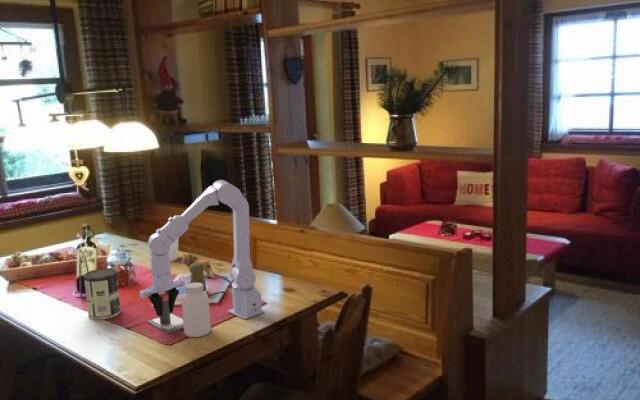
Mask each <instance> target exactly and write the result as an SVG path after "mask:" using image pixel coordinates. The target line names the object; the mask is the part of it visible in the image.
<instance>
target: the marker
mask: <svg viewBox="0 0 640 400" xmlns="http://www.w3.org/2000/svg"><path fill="white" fill-rule="evenodd" d="M159 295H160V296H161V297H163V298H162V316H161V317H160V324H161V325H167V324H170V323H171V319H170V307H169V293H168V292H162V293H159Z"/></svg>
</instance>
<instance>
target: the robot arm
mask: <svg viewBox="0 0 640 400" xmlns="http://www.w3.org/2000/svg"><path fill="white" fill-rule="evenodd" d="M219 202H220V203H222V204H224V205H227V206H228V207H229V208H230V209H232V225H233V226H232V228H233V258H232V260H231V261H232V264H231V267H230V269H229V276H230V278H231V279H232V281H233V282H232V284H231V291H232V293H231V295H232V296H231V297H232V308H230V309H228V310H227V312H228V313H230V314H232V315H235V316H237V317H239V318H241V319H244V320H247V319H249V318H252V317H255V316H257V315H259V314H263V313H265V310H263V307H262V304H263V303H262V294H261V292H260V291H259V290H258V289H257V288H256V287H255V283H256V274H255V273H254V269H253V263H252V261H251V256H250V255H251V254H250V253H251V251H250V250H251V249H250V248H251V247H250V244H251V243H250V205H249V202H248V201H247V199H246V198H245V197H244V195H243V193H242V192H241V190H240V189H239V188H238V187H236V186H235V185H233V184H231V183H229V182H228V181H227V180H225V179H219V180H216V181H215V182H213V183H212V185H209V186H208V187H207V188H206V189H205V190H204V191H203V192H202V194H201V195H200V196H199V197H197V198H196V199H195V200H194V201H193V203H192V204H191V205H189V207H188V208H186V210H185V211H184V212H182V214H180V215H178V214H177V215H174V216H170V217H169V218H168V219H167V220H168V221H167V223H165V224H164V225H163V226H162V227H161V228H158V229H156V230H157V232H158V233H156V232H154V233H153V234H151V235H150V236H149V238H148V240H147V245H148V247H149V249H150V254H149V256H150V259H149V260H150V271H151V279H152V281H151V282H152V285H151V286H149V287H147V288H145V289H142V290H140V291H139V292H138V293H139V298H140V299H142V300H143V299H144V300H145V299H146V298H147V299H149V301H150V303H151V305H152V307H153V308H154V310H155V313H156V316H157V317H161V316H162V298H163V297H161V296H160V295H159V293H162V292H168V293H169V307H170V313H174V307H175V303H176V300H177V298H178V295H179V293H180V291H179V289H178V288H181V287H182V288H185V286H186V283H185V280H184V279H178V280H177V279H176V280H172V279H173V278H172V267H171V261H170V257H169V250H170V247H171V244H172V243H174V242H175V241H176V240H177V239H178V238H179V239H180V237H181V236H182V235H183V234H185V233H186V232H187V231H188V230H189V225H190V222H192V221H193V220H194V219H195V218H196V217H198V216H199V215H200V214H201V213H202V212H204V210H205V209H207V208H208V207H210V206H212V207H213V206H219V205H220V203H219Z"/></svg>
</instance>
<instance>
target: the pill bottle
mask: <svg viewBox="0 0 640 400" xmlns="http://www.w3.org/2000/svg"><path fill="white" fill-rule="evenodd" d="M184 288H185V291H184V292H185V293H184V294H183V295H182V297H181V310H182V318H183V324H184V329H183V331H184V335H185V336H186V337H190V338H198V337H203V336H206V335H208V334H209V333H210V332H211V328H212V327H211V326H212V325H211V313H210V312H211V311H210V302H209V301H210V300H209V298H210V297H209V295H208V292H207V293H205V292H203V284H202V283H191V282H190V283H187V284H185V286H184Z"/></svg>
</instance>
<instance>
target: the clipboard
mask: <svg viewBox="0 0 640 400" xmlns="http://www.w3.org/2000/svg"><path fill="white" fill-rule="evenodd" d="M170 319H171V323H170V324H167V325H161V324H160V317H159V316H157V317H155V318H152V319H150V320H147V322H146V323H148V324H150V325H152V326H154V327H155V328H157V329H159V330H160V331H163V332H165V333H166V334H168V335H169V334H173V333H176V332H178V331H181V330H184V324H183V316H182V317H181V316H180V315H178V314H175V313H174V312H173V313H170Z"/></svg>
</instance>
